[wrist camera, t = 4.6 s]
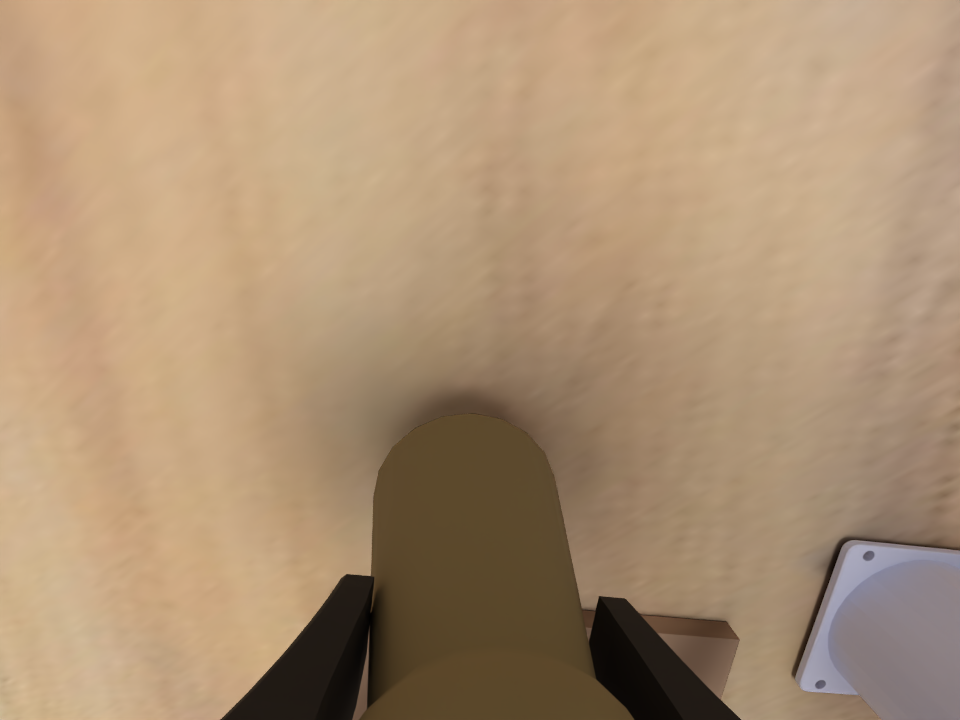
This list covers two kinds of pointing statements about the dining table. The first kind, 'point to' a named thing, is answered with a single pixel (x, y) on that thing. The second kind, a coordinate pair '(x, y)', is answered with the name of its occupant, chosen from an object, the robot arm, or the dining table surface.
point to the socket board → (690, 639)
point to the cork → (475, 584)
